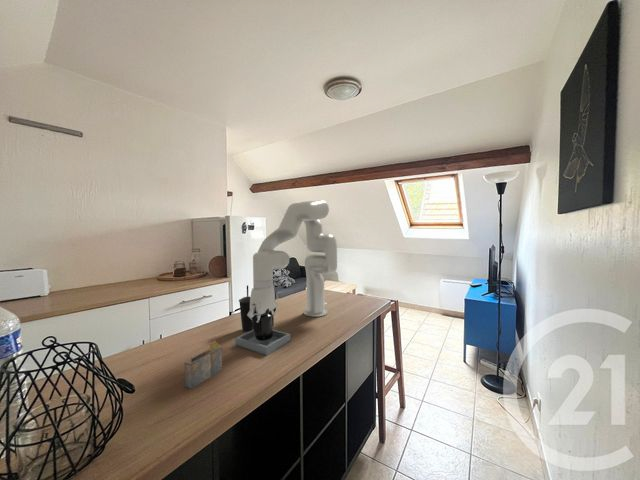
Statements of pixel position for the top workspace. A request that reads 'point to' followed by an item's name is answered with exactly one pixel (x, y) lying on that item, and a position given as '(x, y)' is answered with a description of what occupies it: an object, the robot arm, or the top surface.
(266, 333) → the supplement bottle
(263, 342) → the tray
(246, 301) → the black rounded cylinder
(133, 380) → the top surface
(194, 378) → the grey thin box
